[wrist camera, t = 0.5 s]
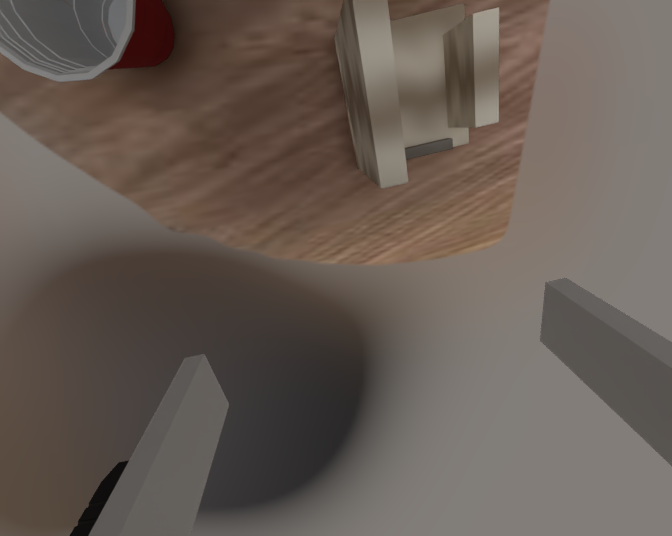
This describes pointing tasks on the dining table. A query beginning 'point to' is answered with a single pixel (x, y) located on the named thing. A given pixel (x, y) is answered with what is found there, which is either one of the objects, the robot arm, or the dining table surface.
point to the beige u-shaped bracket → (414, 82)
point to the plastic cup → (84, 36)
